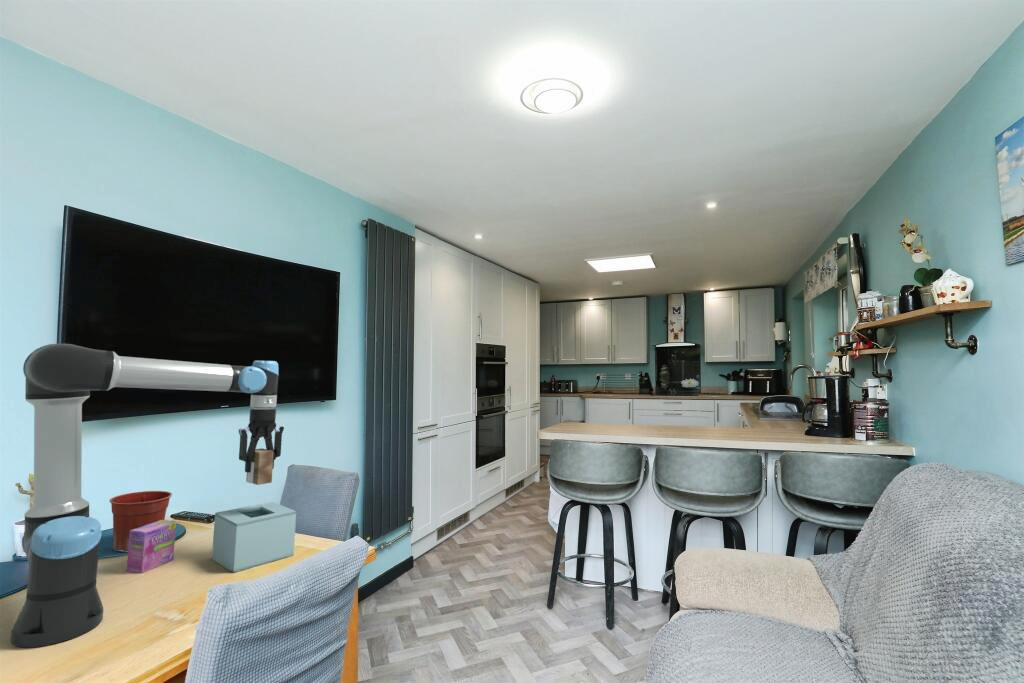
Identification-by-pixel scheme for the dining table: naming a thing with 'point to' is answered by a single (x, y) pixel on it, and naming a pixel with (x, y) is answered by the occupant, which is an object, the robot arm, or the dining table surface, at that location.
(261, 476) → the token
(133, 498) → the flower pot
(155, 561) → the box
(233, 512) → the posting box
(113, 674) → the dining table surface
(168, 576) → the dining table surface
